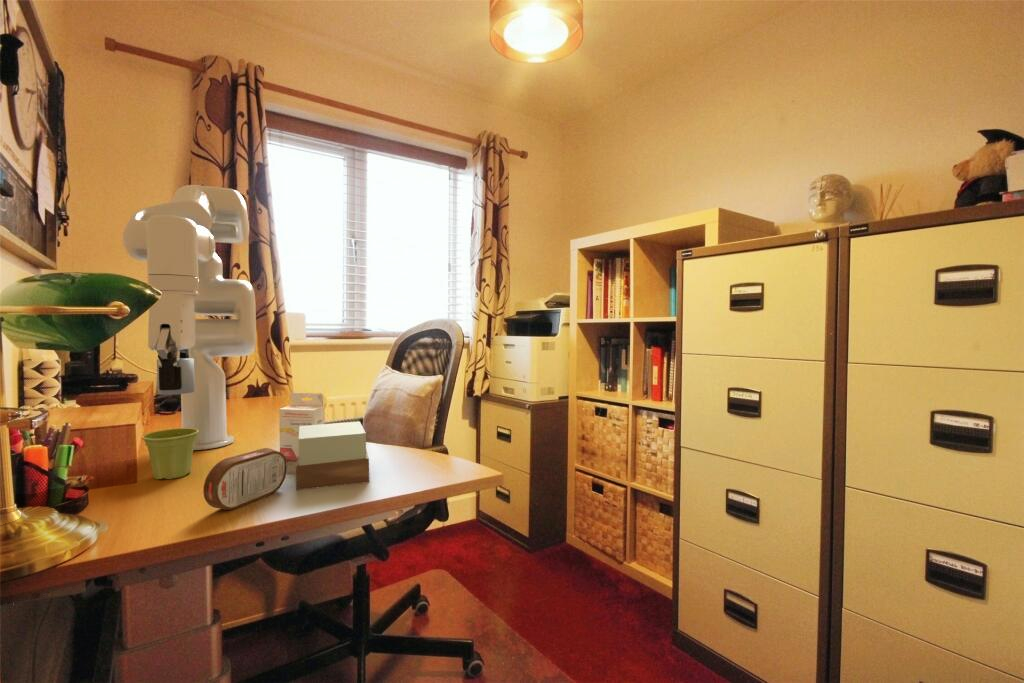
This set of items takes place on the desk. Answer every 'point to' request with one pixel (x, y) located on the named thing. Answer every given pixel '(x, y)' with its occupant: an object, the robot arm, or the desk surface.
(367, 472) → the walnut base block
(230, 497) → the tin
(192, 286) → the robot arm
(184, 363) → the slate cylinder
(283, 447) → the ink cartridge box
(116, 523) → the desk surface
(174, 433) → the plant pot
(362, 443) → the sage top block
